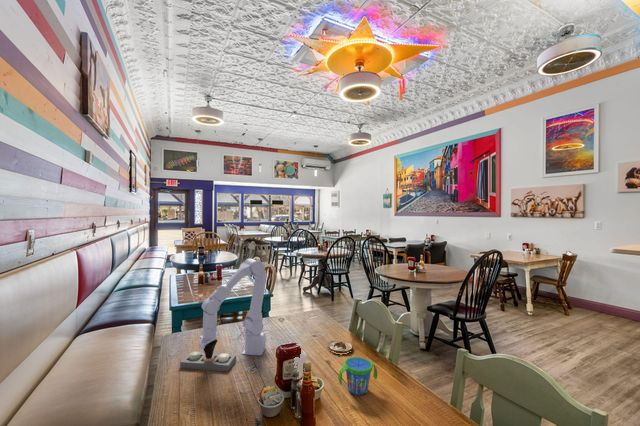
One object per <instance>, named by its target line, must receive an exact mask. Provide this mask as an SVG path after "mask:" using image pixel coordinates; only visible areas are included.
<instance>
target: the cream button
mask: <svg viewBox="0 0 640 426" xmlns="http://www.w3.org/2000/svg"><path fill="white" fill-rule="evenodd" d="M219 354H220V355H219V356H218V362H223V363H227V362H228V361H229V353H219Z"/></svg>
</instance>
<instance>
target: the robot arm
mask: <svg viewBox="0 0 640 426" xmlns="http://www.w3.org/2000/svg"><path fill="white" fill-rule="evenodd" d="M265 268H266V265H265V264H264V263H263V262H262V261H261V260H257V259H254V258H251V257H249V258H246V259H245V260H244V262H242V263H241V264H240V266H239V267H238V269H237V270H236V271H235V273H233V275H231V277H230V278H229V279H228V281H226V283H225V284H221V285H219V286H217V287H216V290H215V291H214V292H213V293H212V294H210V295H209V296H208V298H206V299H204V300H203V301H202V304H201V307H200V308H201V309H202V311H203V314H202V315H203V316H202V335H200V336H199V339H200V340H201V341H200V343H198V349H199V350H203V353H205V356H206V359H211V358H212V355H213V353H214V352H215V351H214V350H215V347H216V345H217V343H218V336H219V335H220V334H219V333H220V330H217V329H218V326H217V325H218V322H217V321H218V312H219V310H220V307H221V305H222V303H223V302H224V301H225V300H226V299H227V298H228V297H229V296H230V295H231V292H232V289H233V288H234V287H235V286H236V285H237V284H238V283H239V282H240V281H241V280H242V279H243V278H244V277H248V276H249V277H250V276H252V277H253V279H254V283H253V289H252V294H251V295H252V296H251V300H250V306H249V311H248V312H247V313H246V314H245V315H246V316H245V319H244V320H243V321H242V325H243V327H244V329H245V332H244V338H245V339H244V350H243V351H242V352H241V355H247V356H249V355H250V356H262V355H263V353H264V352H265V351H266V348H267V346H266V343H267V342H266V337H267V335H266V332H262V331H264V322H263V319H264V318H263V315H262V307H263V302H264V296H265V289H266V284H267V278H268V276H267V272H266V269H265Z"/></svg>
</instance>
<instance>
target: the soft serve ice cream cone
mask: <svg viewBox="0 0 640 426" xmlns="http://www.w3.org/2000/svg"><path fill="white" fill-rule="evenodd" d="M296 345H298V346H300V348H301V354H300V358H299V357H295V358H294V360H295V361H294V363H293V364H295V366H294V368H297V366H296V365H297V362H298V370H297V372H299V376H300V377H302V372H303V362H305V363H306V362H307V359H308V355H307V353H306V352H305V351H304V350H303V347H302V344H300V343H296Z"/></svg>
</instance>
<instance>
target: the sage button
mask: <svg viewBox="0 0 640 426" xmlns="http://www.w3.org/2000/svg"><path fill="white" fill-rule="evenodd" d="M191 352H192V353H191ZM191 352H190V353H188V355H189V360H193V361H198V360H199V359H200V353H201V352H200V351H191Z"/></svg>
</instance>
